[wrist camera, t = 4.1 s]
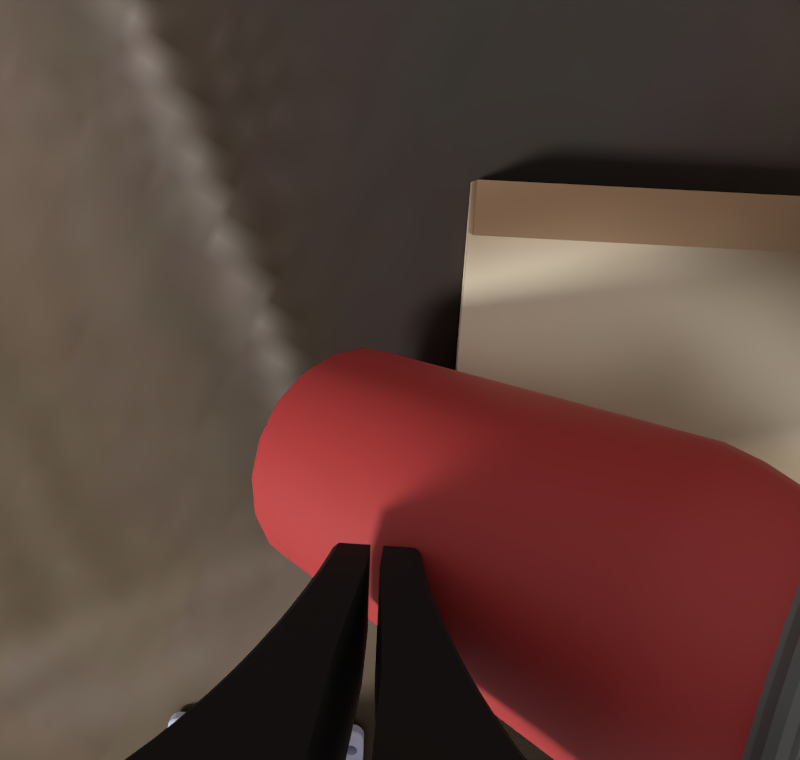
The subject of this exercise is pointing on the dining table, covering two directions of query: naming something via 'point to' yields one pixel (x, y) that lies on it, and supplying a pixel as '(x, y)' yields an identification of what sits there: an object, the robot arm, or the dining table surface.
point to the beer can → (557, 552)
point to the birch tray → (641, 305)
